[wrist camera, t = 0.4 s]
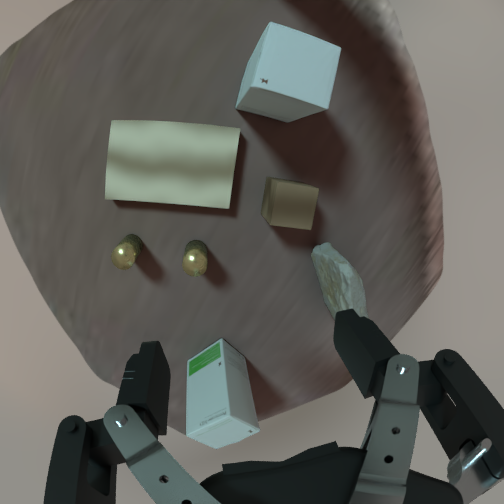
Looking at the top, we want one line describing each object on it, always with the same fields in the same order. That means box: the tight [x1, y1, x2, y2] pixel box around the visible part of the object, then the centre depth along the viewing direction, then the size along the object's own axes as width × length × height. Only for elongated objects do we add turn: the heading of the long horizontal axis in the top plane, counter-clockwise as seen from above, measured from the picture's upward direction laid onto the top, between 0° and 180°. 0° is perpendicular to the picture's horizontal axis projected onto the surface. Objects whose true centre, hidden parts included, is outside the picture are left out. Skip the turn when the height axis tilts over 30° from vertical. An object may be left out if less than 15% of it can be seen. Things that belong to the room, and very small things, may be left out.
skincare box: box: [186, 339, 260, 449], centre depth 37 cm, size 8×7×16 cm
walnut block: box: [261, 177, 319, 230], centre depth 34 cm, size 5×5×6 cm
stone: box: [311, 243, 369, 320], centre depth 37 cm, size 14×6×10 cm, turn 17°
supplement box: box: [235, 22, 341, 123], centre depth 25 cm, size 7×7×13 cm
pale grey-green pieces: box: [105, 120, 240, 209], centre depth 32 cm, size 10×16×2 cm, turn 82°
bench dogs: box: [111, 234, 207, 277], centre depth 34 cm, size 3×12×5 cm, turn 82°
